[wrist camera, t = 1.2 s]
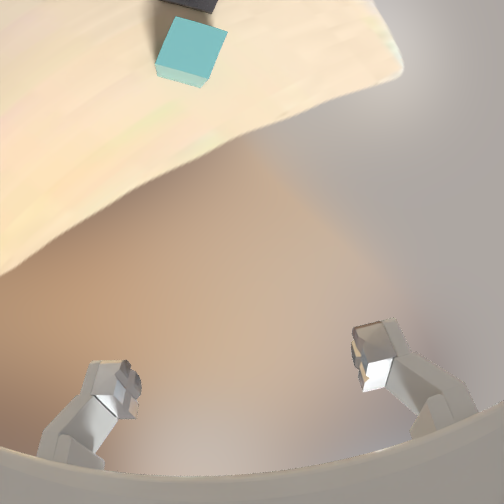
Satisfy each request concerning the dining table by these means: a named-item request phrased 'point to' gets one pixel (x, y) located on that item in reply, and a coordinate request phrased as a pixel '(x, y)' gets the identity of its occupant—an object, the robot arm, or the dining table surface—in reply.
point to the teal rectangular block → (189, 52)
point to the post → (196, 4)
